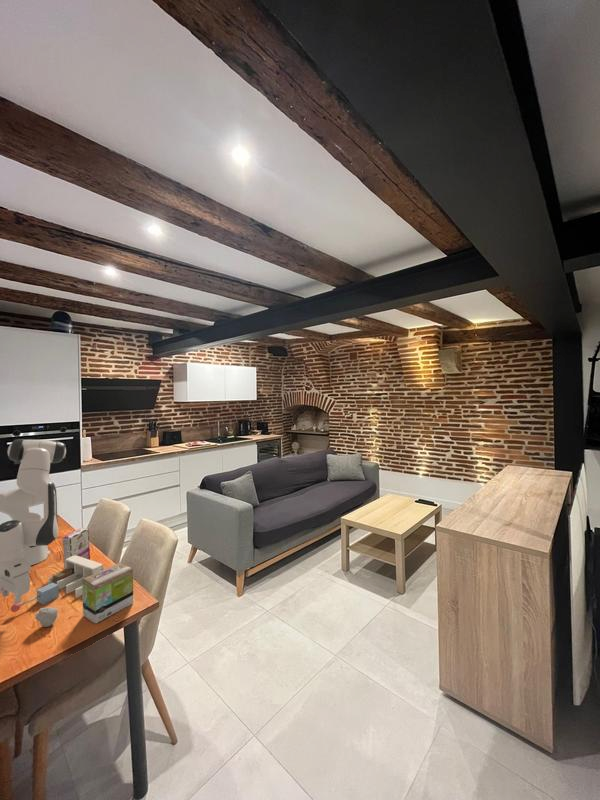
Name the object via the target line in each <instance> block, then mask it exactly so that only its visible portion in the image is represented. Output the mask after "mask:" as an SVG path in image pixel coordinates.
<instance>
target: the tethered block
mask: <svg viewBox="0 0 600 800" xmlns="http://www.w3.org/2000/svg"><path fill="white" fill-rule="evenodd" d="M59 590H60V589H59V585H57V584H55V583H50V584H46V585H45V586H41V587H39V588H38V589H36V596H34V597H33V598H30V599H28V600H26V601H24V602H21V603H18V604H15V603H13V604H12V605H11V607H10V611H11V612H12V613H16V612H18V611H20V609H21V607H22V606H25V605H26V604H28V603H31V602H32V601H35V600H36V602H37V603H39V604H41V605H45V604H47V603H49V602H51V601H54V600H55V599H57V598H59V597H60V591H59Z"/></svg>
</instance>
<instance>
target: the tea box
mask: <svg viewBox="0 0 600 800" xmlns="http://www.w3.org/2000/svg"><path fill="white" fill-rule="evenodd" d="M133 603H134V569H133V568H132V567H130V566H128V565H126V564H123V563H121V562H118V563H115V564H114V565H111V566H108V567H106V568H103V570H102V571H99V572H97V573H95V574H93V575H90V576H88V577H86V578H83V595H82V616H83V617H85V618H86V619H88V620H89V621H91V622H92V623H94V624H98V623H99V622H101V621H103V620H105V619H107V618H108V617H111V616H112V615H115V613H118V612H119V611H121V610H123V609H125V608H127V607H129V606H131V605H133Z"/></svg>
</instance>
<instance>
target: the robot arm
mask: <svg viewBox="0 0 600 800" xmlns="http://www.w3.org/2000/svg"><path fill="white" fill-rule="evenodd" d="M66 454H67V448H66V444H65V443H64V442H61V441H53V440H48V439H24V438H18V439H14V440H13V441H12V442H11V443H10V444H9V446H8V448H7V456H8V459H9V460H10V461H11V462H16V463H19V462H20V464H19V467H18V472H17V475H16V485H17V488H11V489H8V490H6V491H3V492H0V512H1V513H3V514H5V515H7V516H8V517H10V519H11V520H7V521H5V522H2V523H1V524H0V592H1V596H2V597H3V598H7V597H8V596H10V593H11V594H12V595H14V598H13V604H18V603H19V604H21V603H22V597H23V595H25V594H27V593H28V592H29V591H30V587H31V586H30V585H31V584H30V583H31V577H30V571H31V570H32V566H33V565H36V564H39V563H42V562H43V561H44V560H46V559H47V558H48V557H49V556H50V554H51V550H49V548H48V546H49V545H50V544H52V543H53V542H54V541H55V540H57V538H58V536H59V531H60V530H59V522H58V521H59V520H58V501H57V499H58V497H57V487H56V485H55V483H54V482H51V480H50V470H51V464H57V463H61V462H62V461H63V460H64V458H65V457H66ZM39 505H43V518H42V516H41V515H40V514H39V513H36V512H31V511H30V508H32V507H35V506H39Z"/></svg>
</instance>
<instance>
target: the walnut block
mask: <svg viewBox="0 0 600 800" xmlns="http://www.w3.org/2000/svg"><path fill="white" fill-rule="evenodd" d="M70 575H73V572H72V570H69V569H63V570H60V571H59V572H56V573H54V574H52V576H53V583H55V584H57V582H58V581H60V580H62V579H64V578H66V577H68V576H70Z"/></svg>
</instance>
